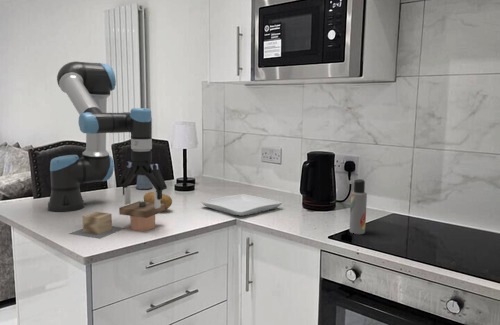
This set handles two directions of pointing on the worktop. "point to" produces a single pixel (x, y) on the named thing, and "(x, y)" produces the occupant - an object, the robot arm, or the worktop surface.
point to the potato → (165, 199)
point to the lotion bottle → (358, 208)
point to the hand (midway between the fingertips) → (142, 205)
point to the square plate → (241, 204)
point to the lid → (141, 209)
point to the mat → (81, 233)
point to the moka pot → (143, 182)
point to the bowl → (142, 223)
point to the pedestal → (97, 223)
